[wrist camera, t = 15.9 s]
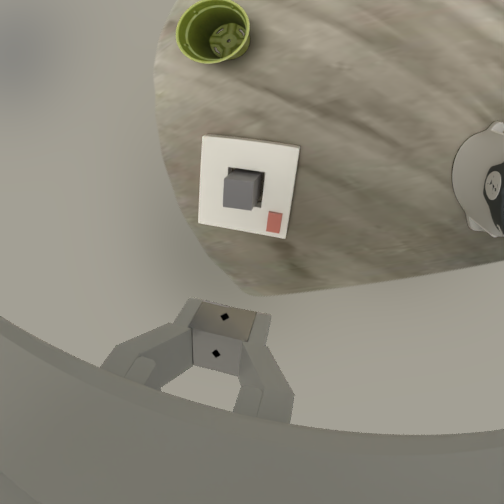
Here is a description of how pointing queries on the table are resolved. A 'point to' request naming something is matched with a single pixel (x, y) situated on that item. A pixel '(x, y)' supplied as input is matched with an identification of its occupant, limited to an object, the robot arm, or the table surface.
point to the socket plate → (250, 158)
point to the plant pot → (213, 31)
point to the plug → (242, 189)
